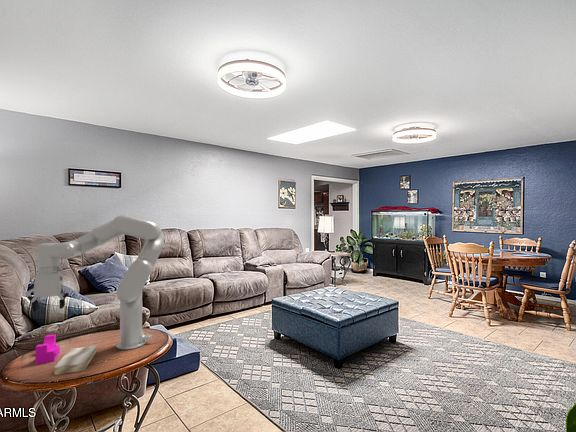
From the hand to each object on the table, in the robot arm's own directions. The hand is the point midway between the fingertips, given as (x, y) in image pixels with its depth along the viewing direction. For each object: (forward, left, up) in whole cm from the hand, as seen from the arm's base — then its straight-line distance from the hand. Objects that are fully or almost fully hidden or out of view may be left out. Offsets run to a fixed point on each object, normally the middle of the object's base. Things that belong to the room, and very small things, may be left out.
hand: (49, 309), depth 139 cm
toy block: (0, 0, -21) cm, 21 cm away
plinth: (-14, +13, -21) cm, 28 cm away
